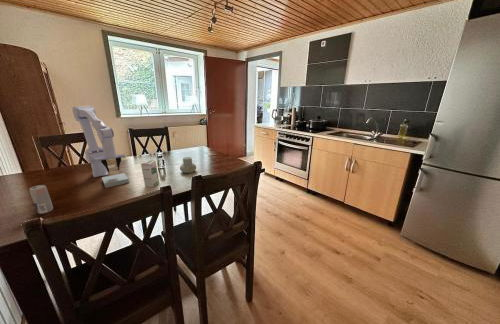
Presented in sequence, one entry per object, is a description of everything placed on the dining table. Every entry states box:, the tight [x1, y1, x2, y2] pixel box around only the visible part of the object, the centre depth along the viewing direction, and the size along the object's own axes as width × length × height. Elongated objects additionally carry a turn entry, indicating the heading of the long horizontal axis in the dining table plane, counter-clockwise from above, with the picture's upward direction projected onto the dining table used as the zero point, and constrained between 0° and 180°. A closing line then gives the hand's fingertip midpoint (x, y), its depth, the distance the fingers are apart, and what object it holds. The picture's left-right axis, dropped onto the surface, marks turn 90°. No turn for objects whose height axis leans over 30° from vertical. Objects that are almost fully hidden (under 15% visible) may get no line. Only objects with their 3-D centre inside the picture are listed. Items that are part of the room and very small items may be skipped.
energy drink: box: [29, 184, 54, 215], centre depth 91 cm, size 5×5×12 cm
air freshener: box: [179, 156, 197, 174], centre depth 141 cm, size 11×8×10 cm
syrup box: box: [140, 159, 160, 188], centre depth 119 cm, size 6×6×14 cm
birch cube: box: [108, 164, 120, 176], centre depth 122 cm, size 4×4×4 cm
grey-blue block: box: [101, 172, 130, 189], centre depth 124 cm, size 12×12×3 cm
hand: (113, 170), depth 122 cm, fingers closed on birch cube, 4 cm apart
